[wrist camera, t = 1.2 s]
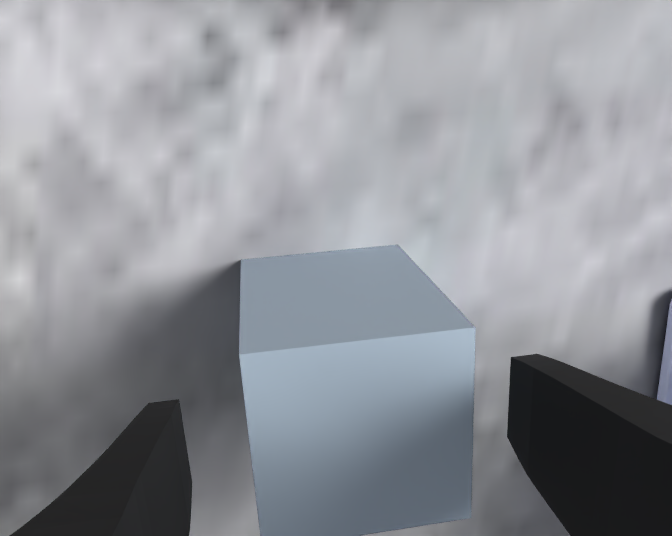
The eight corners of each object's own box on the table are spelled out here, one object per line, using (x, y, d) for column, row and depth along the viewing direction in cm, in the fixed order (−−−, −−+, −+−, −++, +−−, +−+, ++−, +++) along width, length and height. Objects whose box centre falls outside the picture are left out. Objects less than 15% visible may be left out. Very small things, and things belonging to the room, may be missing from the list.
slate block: (397, 244, 17) (475, 327, 11) (400, 382, 18) (471, 518, 13) (240, 259, 16) (238, 354, 11) (256, 400, 18) (262, 550, 12)
